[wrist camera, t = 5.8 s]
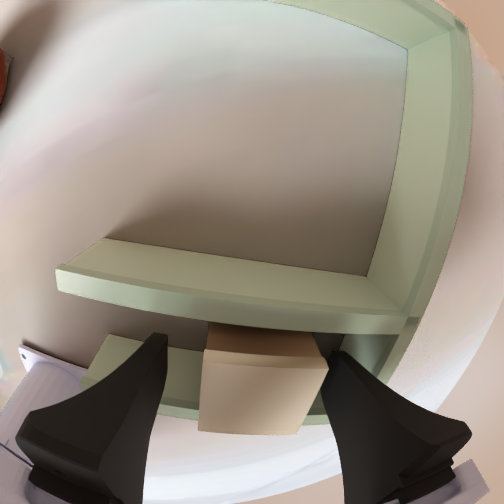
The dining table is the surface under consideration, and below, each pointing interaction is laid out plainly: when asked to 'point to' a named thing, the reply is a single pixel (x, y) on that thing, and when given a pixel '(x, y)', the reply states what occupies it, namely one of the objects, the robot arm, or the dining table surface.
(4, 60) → the fruit
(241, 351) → the walnut box
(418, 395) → the dining table surface
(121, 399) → the robot arm
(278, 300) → the divider frame
